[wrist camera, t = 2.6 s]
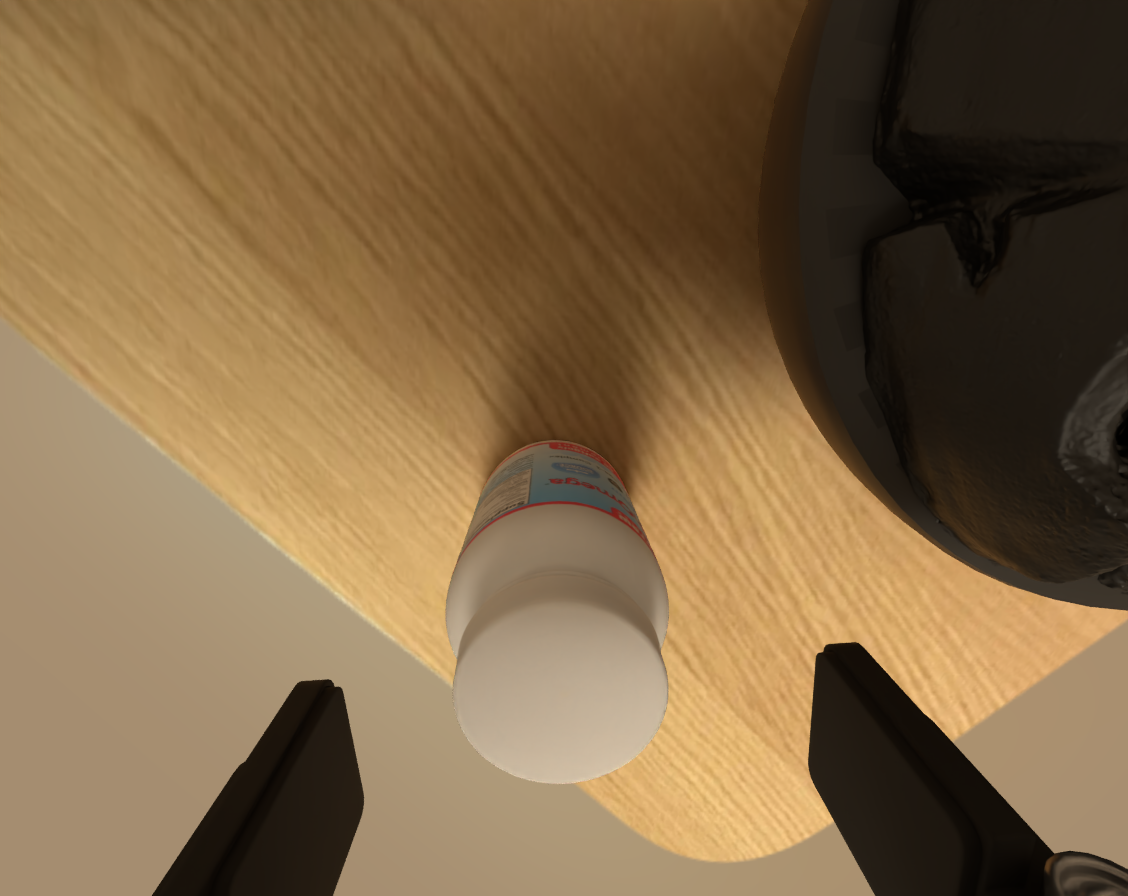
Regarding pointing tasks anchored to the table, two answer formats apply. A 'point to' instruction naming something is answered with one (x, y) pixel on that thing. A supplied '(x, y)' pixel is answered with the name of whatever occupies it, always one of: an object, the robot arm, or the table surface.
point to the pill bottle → (557, 619)
